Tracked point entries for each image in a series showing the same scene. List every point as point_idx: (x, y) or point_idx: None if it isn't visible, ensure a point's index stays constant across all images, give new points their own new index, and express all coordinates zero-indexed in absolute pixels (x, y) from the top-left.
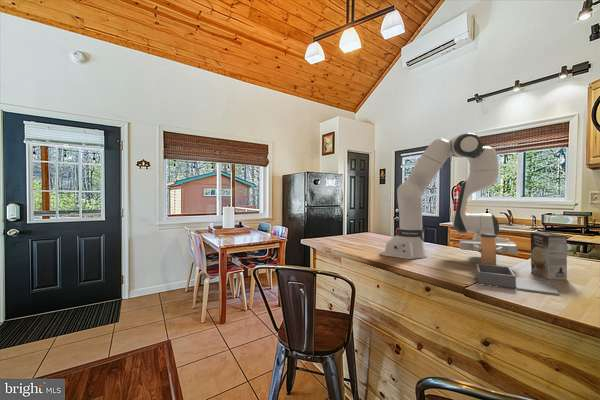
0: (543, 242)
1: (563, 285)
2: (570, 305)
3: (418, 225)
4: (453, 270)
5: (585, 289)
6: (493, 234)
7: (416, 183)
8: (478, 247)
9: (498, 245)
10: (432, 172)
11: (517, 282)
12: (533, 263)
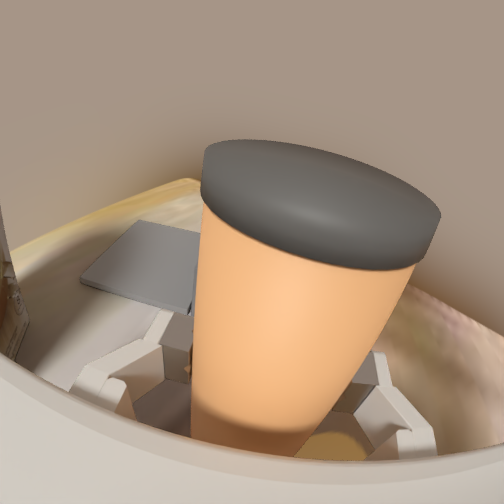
0: None
1: (50, 270)
2: (162, 201)
3: None
4: (409, 382)
5: (29, 251)
6: (241, 157)
7: None
8: (370, 351)
9: (103, 407)
10: None
11: (194, 267)
12: None
